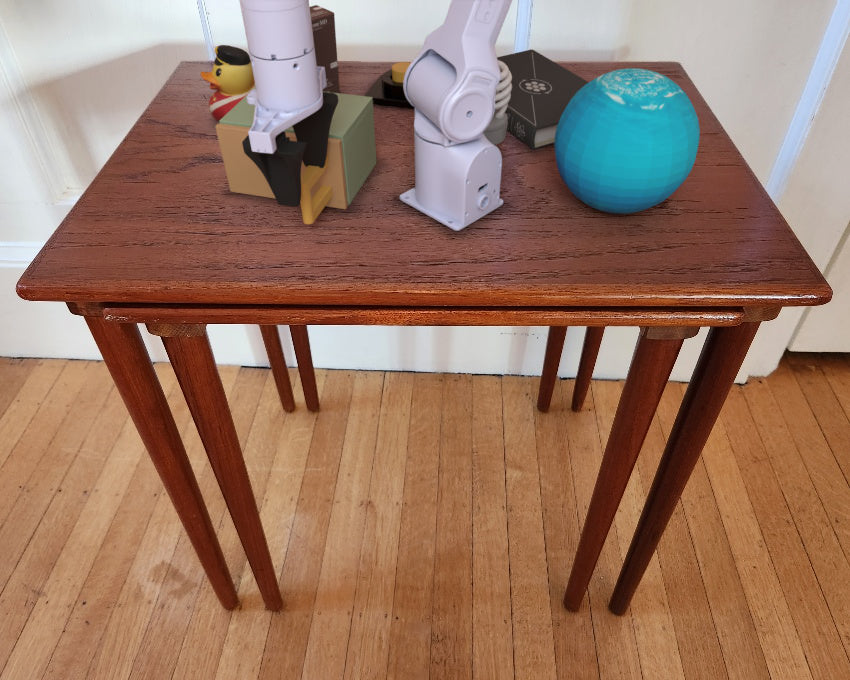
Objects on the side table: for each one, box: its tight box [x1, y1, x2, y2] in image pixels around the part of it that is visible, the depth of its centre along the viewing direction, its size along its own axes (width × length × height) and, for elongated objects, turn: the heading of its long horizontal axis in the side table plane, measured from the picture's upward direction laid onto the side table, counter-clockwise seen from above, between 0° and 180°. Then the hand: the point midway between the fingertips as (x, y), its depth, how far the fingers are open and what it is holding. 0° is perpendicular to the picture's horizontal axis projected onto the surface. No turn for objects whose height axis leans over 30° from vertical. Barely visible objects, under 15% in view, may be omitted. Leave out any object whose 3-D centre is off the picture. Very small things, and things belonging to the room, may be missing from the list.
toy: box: [200, 44, 256, 123], centre depth 91 cm, size 9×11×10 cm
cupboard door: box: [214, 122, 349, 225], centre depth 74 cm, size 7×15×8 cm, turn 74°
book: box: [495, 49, 590, 150], centre depth 96 cm, size 22×15×3 cm
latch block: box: [364, 68, 415, 110], centre depth 99 cm, size 10×8×3 cm
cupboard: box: [218, 87, 378, 206], centre depth 80 cm, size 10×15×9 cm
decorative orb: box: [553, 67, 701, 215], centre depth 73 cm, size 15×15×15 cm
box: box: [309, 4, 341, 94], centre depth 95 cm, size 6×4×12 cm
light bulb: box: [483, 60, 512, 146], centre depth 83 cm, size 6×6×12 cm
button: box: [391, 61, 411, 83], centre depth 97 cm, size 4×4×2 cm
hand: (302, 184), depth 69 cm, fingers open, 7 cm apart
